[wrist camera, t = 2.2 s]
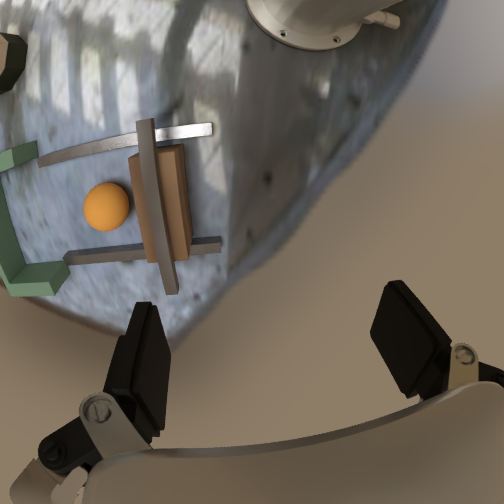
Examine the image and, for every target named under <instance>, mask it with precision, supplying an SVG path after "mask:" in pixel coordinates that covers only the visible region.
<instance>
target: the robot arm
mask: <svg viewBox="0 0 504 504" xmlns="http://www.w3.org/2000/svg"><path fill="white" fill-rule="evenodd" d="M245 1H246V6H247V9H248V11H249V13H250V15H251V17H252V19H253V20H254V21H255V22H256V24H257V25H258V26H259V27H260V28H261V29H262V30H263V31H264V32H265V33H267V34H268V35H270V36H271V37H273V38H274V39H276V40H278V41H280V42H282V43H284V44H286V45H289V46H292V47H295V48H298V49H304V50H309V51H322V50H330V49H333V48H336V47H339V46H341V45H343V44H345V43H347V42H349V41H350V40H351V39H353V38H354V37H355V35H356V34H357V33H358V32H359V30H360V28H361V25H362V24H363V23H366V24H372V23H377V24H379V25H382V26H385V27H388V28H391V29H394V30H395V29H397V28H398V27H399V25H400V19H399V17H398V16H397V15H394V14H391V13H388V12H385V11H380V10H382V9H384V8H387V7H389V6H391V5H394V4H396V3H398V2H401V1H403V0H245ZM280 34H284V36H285V37H282V36H281V35H280ZM333 39H334V40H335V41H336V42H334V41H333ZM370 335H371V338H372V340H373V342H374V343H375V345H376V347H377V349H378V350H379V352H380V354H381V356H382V358H383V359H384V361H385V363H386V365H387V367H388V369H389V370H390V372H391V374H392V376H393V378H394V380H395V381H396V383H397V385H398V387H399V389H400V391H401V392H402V393H403V394H405V396H406V398H407V399H408V398H411V397H413V396H416V395H417V394H419V396H420V400H419V403H418V404H415V405H413V406H410V407H408V408H406V409H403V410H400V411H397V412H395V413H392V414H389V415H386V416H383V417H380V418H377V419H374V420H371V421H368V422H364V423H361V424H358V425H354V426H351V427H347V428H343V429H339V430H335V431H331V432H327V433H322V434H318V435H313V436H308V437H303V438H297V439H292V440H285V441H279V442H272V443H264V444H256V445H246V446H232V447H216V448H179V449H178V448H175V449H174V448H173V449H153V448H152V447H151V445H150V443H151V442H152V437H160V430H164V428H165V415H166V404H167V392H168V381H169V372H170V363H171V353H170V349H169V346H168V343H167V340H166V336H165V333H164V330H163V326H162V323H161V319H160V316H159V312H158V309H157V306H156V305H152V303H151V302H136V304H135V307H134V310H133V313H132V316H131V319H130V322H129V325H128V328H127V332H126V335H121V336H120V337H119V338H118V341H117V344H116V347H115V350H114V354H113V357H112V360H111V364H110V367H109V371H108V374H107V378H106V382H105V385H104V389H103V392H95V393H92V394H89V395H88V396H87V397H85V398H84V399H83V401H82V402H81V404H80V407H79V415H80V416H79V417H77V418H76V419H74V420H73V421H71V422H69V423H68V424H66V425H65V426H63V427H61V428H60V429H58V430H57V431H55V432H53V433H52V434H50V435H49V436H47V437H45V438H44V439H43V440H42V441H41V443H40V445H39V448H38V456H39V457H38V458H37V460H35V459H34V458H33V459H32V461H31V462H30V463H29V464H28V465H27V467H26V468H25V469H24V470H23V472H22V473H21V474H20V475H19V476H18V478H17V479H16V480H15V482H14V483H13V484H12V486H11V488H10V497H11V500H12V502H13V503H14V504H73V503H74V501H75V499H76V497H77V496H78V495H79V494H78V493H77V492H78V491H79V490H80V488H81V487H85V488H84V492H83V498H82V504H504V371H503V370H501V369H499V368H496V367H493V366H490V365H487V364H484V363H482V362H479V361H478V355H477V353H476V351H475V350H474V349H473V348H472V347H471V346H469V345H468V344H465V343H457V344H455V345H454V346H453V347H451V346H450V344H451V342H452V340H451V339H450V338H449V336H448V335H447V334H446V332H445V331H444V330H443V329H442V327H441V326H440V325H439V324H438V322H437V321H436V320H435V319H434V317H433V316H432V315H431V314H430V312H429V311H428V310H427V309H426V308H425V306H424V305H423V304H422V303H421V302H420V300H419V299H418V298H417V297H416V296H415V295H414V293H413V292H412V291H411V290H410V289H409V288H408V287H407V285H406V284H405V283H404V282H403V281H402V280H395V281H390V282H388V283H387V285H386V286H385V287H384V290H383V293H382V297H381V300H380V303H379V306H378V309H377V312H376V315H375V318H374V321H373V324H372V327H371V330H370Z"/></svg>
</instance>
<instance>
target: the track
mask: <svg viewBox="0 0 504 504" xmlns="http://www.w3.org/2000/svg"><path fill="white" fill-rule="evenodd" d="M155 135H156V141H163V140H170V139H178V138H187V137H196V136H207V135H212V122H210V123H199V124H189V125H181V126H173V127H166V128H159V129H155ZM132 145H138V140H137V132H135V133H130V134H124V135H119V136H115V137H110V138H106V139H101V140H97V141H93V142H89V143H85V144H81V145H77V146H74V147H70V148H67V149H63V150H60V151H56V152H53V153H50V154H47V155H44V156H41V157H39V158H37V159H38V165H39V168H41V167H44V166H48V165H51V164H54V163H58V162H61V161H65V160H69V159H73V158H76V157H80V156H84V155H89V154H93V153H97V152H102V151H106V150H111V149H116V148H121V147H126V146H132ZM210 253H221V239H220V236H218V237H207V238H195V239H192V242H191V248H190V253H189V255H198V254H210ZM139 259H147V257H146V253H145V249H144V244H143V243H141V244H131V245H121V246H111V247H102V248H92V249H83V250H74V251H68V252H67V253H66V254H65V255H64V257H63V260H64V262H65V265H66V266H69V265H80V264H92V263H104V262H115V261H127V260H139Z"/></svg>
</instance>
